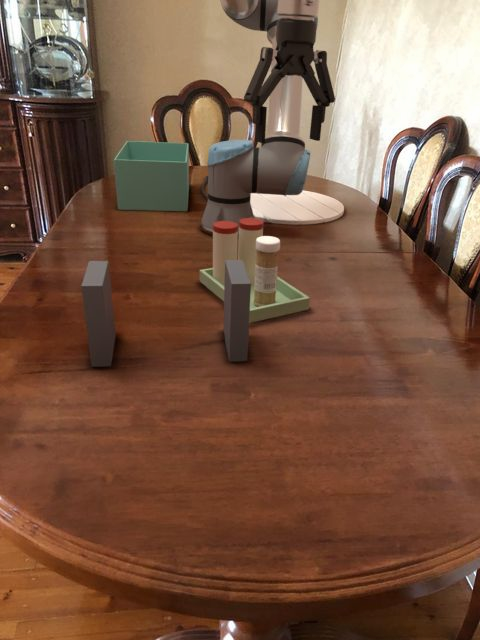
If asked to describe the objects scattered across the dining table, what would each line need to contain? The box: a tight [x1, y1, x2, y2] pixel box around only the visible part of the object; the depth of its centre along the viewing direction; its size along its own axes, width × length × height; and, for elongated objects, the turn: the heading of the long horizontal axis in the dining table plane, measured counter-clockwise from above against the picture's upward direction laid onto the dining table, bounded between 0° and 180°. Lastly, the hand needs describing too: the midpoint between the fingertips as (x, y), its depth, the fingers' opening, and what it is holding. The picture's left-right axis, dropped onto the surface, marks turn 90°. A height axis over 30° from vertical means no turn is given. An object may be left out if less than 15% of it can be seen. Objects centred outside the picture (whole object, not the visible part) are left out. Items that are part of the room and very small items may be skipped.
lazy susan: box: [250, 189, 345, 226], centre depth 171 cm, size 40×39×3 cm
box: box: [113, 140, 190, 212], centre depth 169 cm, size 21×32×14 cm, turn 6°
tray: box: [199, 267, 311, 324], centre depth 108 cm, size 22×14×3 cm, turn 31°
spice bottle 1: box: [212, 221, 239, 286], centre depth 109 cm, size 5×5×13 cm
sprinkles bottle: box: [253, 235, 281, 307], centre depth 102 cm, size 5×5×13 cm
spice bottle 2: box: [237, 218, 264, 285], centre depth 111 cm, size 5×5×13 cm
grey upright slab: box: [223, 259, 251, 363], centre depth 88 cm, size 3×10×14 cm, turn 9°
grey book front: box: [80, 260, 117, 368], centre depth 84 cm, size 3×10×14 cm, turn 9°
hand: (287, 141), depth 108 cm, fingers open, 13 cm apart
